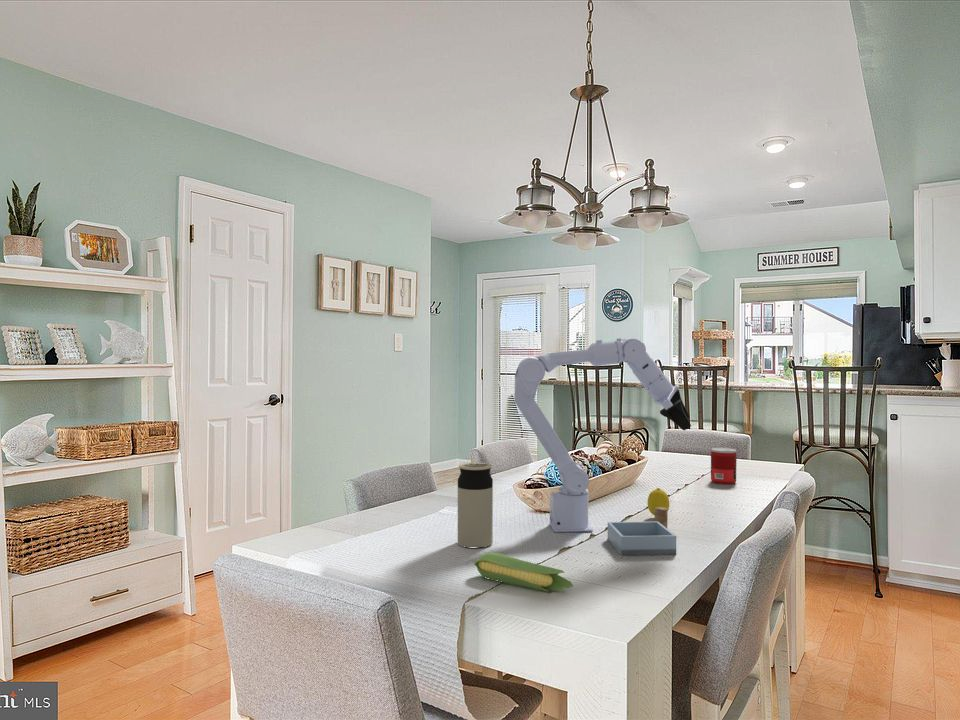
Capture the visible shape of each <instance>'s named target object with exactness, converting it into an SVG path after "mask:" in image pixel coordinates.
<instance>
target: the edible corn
mask: <svg viewBox="0 0 960 720" xmlns="http://www.w3.org/2000/svg"><path fill="white" fill-rule="evenodd" d="M473 566H475V567H476V568H477V571H478V573H479V574H480V576H481V577H482V576H483V577H482V578H484V577H486V578H489V579H493V580H498V581H502V582H503V583H502V582H501V583H502V584H508V585H512V586H518V587H521V588H526V589H532V590H535V591H541V592H544V593H549V594H552V591H553V590H554V591H556V592H557V591H558V592H562V593H565V590H564V589H570V588H572V587H574V586H575V584H573V583H572V582H571V580H569V579H567V578H565V577H563V576H561V575H559V574H564V573H566V572H565V571H564V570H563V569H559V568H555V567H549V566H547V565H546V566H545V565H541V564H538V563H534V562H530V561H527V560H526V561H525V560H523V559H519V558H515V557H511V556H509V555H505V554H501V553H498V552H487V553H484V554H483V555H481V556H480V557H479V558H478V559H475V561H474V565H473ZM486 578H485V579H486ZM493 580H492V581H493ZM551 590H552V591H551Z"/></svg>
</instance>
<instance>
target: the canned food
mask: <svg viewBox="0 0 960 720" xmlns="http://www.w3.org/2000/svg"><path fill="white" fill-rule="evenodd" d="M737 452H738V451H737V449H735V448H730V447H729V448H728V447H713V448H711V450H710V480H711V482H712V483H713V484H718V485H735V484H736V482H737V461H738V460H737Z"/></svg>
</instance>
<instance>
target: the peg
mask: <svg viewBox="0 0 960 720" xmlns="http://www.w3.org/2000/svg"><path fill="white" fill-rule="evenodd" d="M668 512H669V510H668V509H667V508H663V507H656V508H655V515H654V521H658V522H660V523H661V524H662V525H663V526H665V527H666V528H667V529H668Z"/></svg>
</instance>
